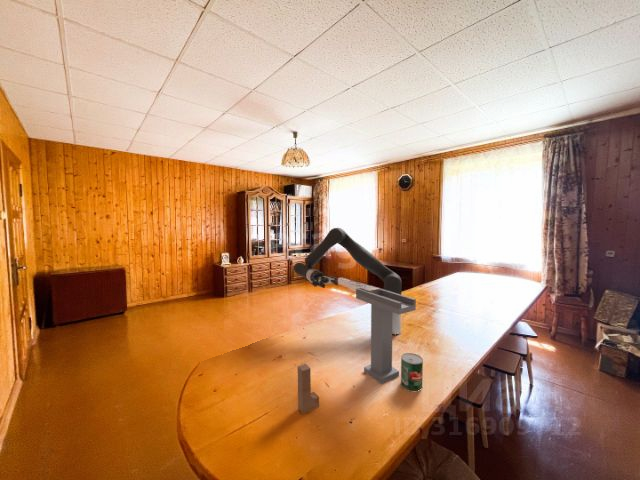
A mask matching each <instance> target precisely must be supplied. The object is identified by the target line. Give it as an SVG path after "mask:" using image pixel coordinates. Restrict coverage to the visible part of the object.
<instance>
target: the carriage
mask: <svg viewBox="0 0 640 480" xmlns="http://www.w3.org/2000/svg"><path fill="white" fill-rule="evenodd" d="M337 281H338V286H339V285H340V286H343V287H345V288H347V289H348V290H349V291H353V292H355V293H356V289H357V288H359V289H362V290H365V291H368V292H371V293H374V294H377V295H380V289H381V288H380V287H377V288H376V286H373V285H370V284H366V283H363V282H359V281H358V282H356V281H355V280H352V279H349V278H345V277H338V278H337Z"/></svg>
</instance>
